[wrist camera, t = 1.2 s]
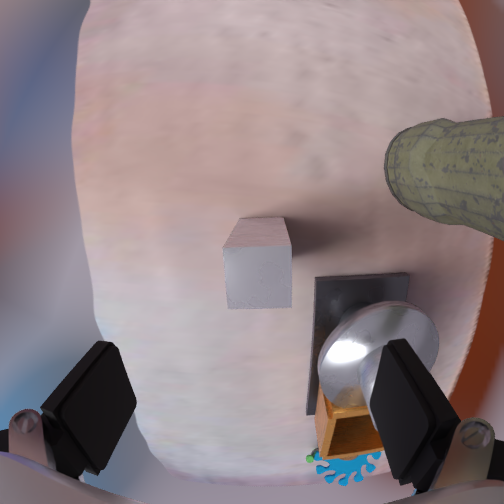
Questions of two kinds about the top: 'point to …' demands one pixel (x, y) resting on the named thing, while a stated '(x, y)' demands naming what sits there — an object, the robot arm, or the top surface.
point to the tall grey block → (258, 264)
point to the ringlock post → (358, 355)
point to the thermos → (451, 172)
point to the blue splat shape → (343, 466)
